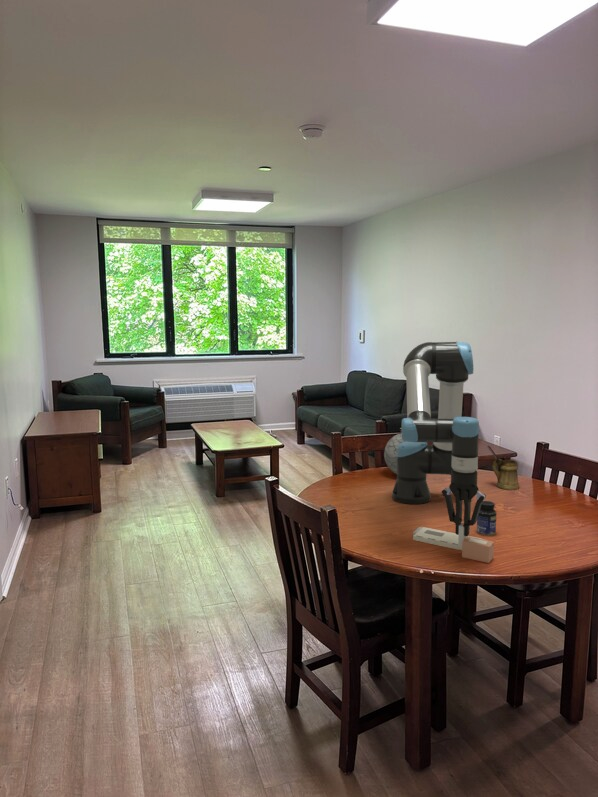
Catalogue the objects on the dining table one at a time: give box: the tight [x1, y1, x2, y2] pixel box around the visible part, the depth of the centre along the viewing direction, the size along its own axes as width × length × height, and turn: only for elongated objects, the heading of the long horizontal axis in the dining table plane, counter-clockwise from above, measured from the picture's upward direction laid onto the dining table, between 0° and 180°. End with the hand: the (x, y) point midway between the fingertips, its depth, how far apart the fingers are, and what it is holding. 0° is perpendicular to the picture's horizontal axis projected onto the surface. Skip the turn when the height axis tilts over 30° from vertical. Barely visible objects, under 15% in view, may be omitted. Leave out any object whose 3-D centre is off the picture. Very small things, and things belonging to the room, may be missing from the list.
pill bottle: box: [476, 500, 497, 537], centre depth 188 cm, size 6×6×11 cm
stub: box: [461, 535, 495, 564], centre depth 169 cm, size 8×4×5 cm, turn 57°
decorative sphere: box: [383, 432, 406, 475], centre depth 259 cm, size 20×20×20 cm
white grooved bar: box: [412, 526, 485, 551], centre depth 181 cm, size 20×9×2 cm, turn 57°
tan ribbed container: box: [487, 445, 520, 491], centre depth 241 cm, size 9×14×18 cm, turn 81°
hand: (462, 545), depth 171 cm, fingers closed
